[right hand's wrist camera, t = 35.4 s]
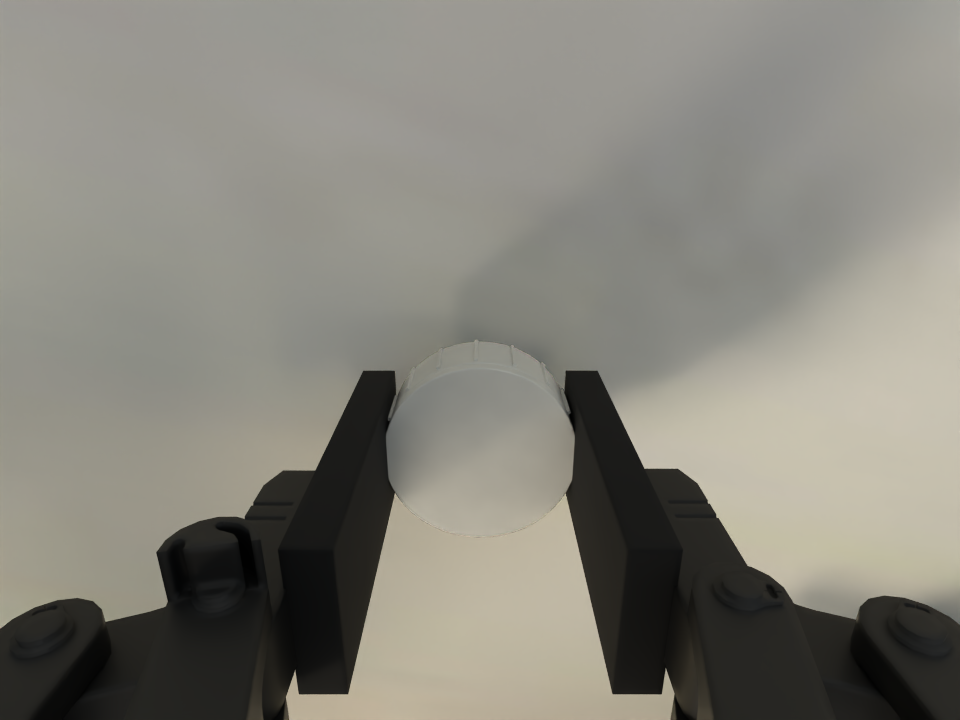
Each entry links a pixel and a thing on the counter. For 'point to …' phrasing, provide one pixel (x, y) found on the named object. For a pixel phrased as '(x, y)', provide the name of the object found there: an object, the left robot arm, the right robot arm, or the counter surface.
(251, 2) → the counter surface
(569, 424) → the cap
